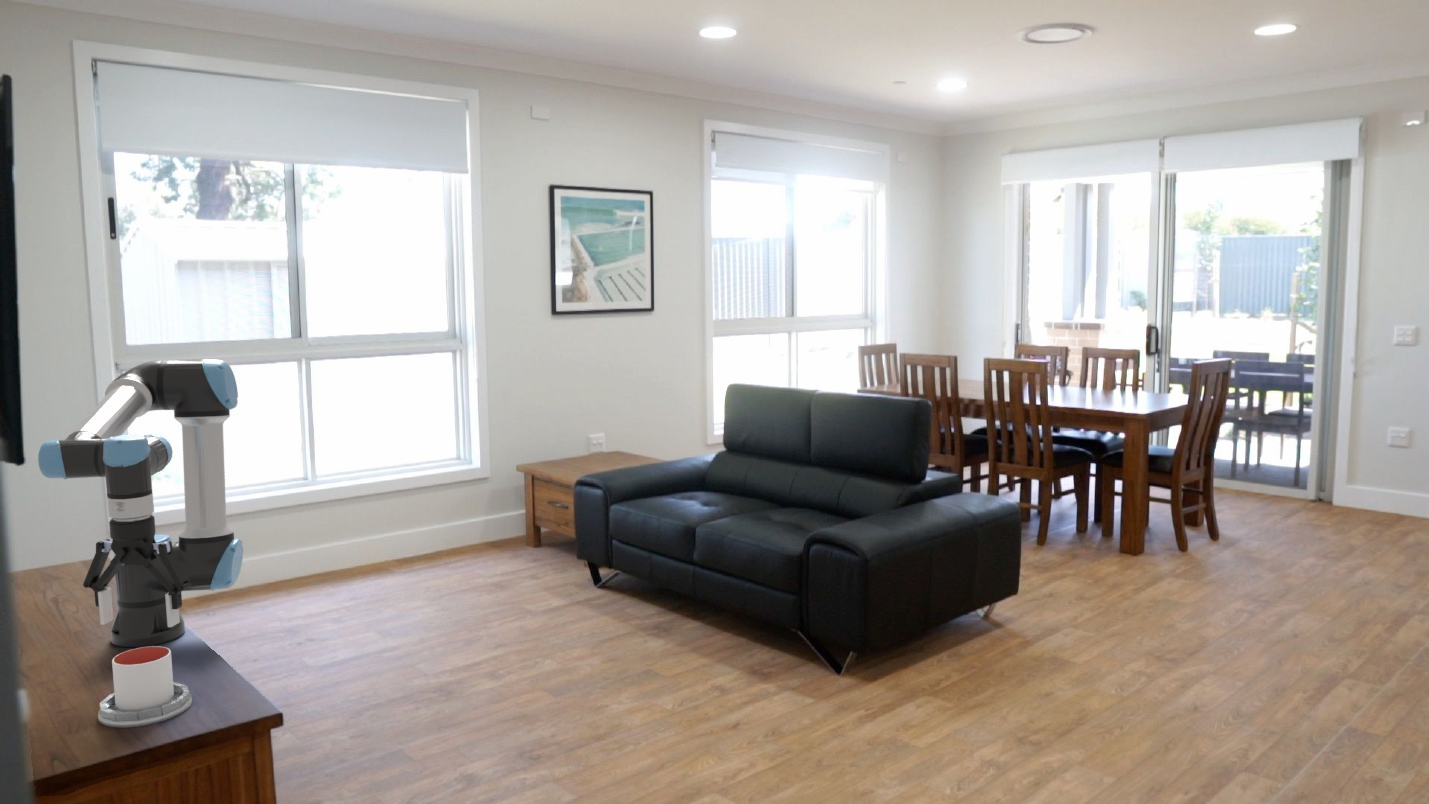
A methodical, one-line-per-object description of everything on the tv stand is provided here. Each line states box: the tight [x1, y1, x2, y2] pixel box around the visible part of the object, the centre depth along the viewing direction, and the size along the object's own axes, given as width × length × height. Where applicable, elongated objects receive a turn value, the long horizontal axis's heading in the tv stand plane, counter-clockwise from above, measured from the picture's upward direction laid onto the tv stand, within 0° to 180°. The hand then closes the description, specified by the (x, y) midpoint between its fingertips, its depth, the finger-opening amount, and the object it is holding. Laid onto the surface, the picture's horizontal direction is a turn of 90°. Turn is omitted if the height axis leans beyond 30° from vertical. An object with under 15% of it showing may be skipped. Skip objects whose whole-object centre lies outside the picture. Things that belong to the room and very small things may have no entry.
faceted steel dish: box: [97, 681, 193, 729], centre depth 198 cm, size 16×16×2 cm
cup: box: [111, 645, 174, 712], centre depth 198 cm, size 10×10×10 cm
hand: (140, 623), depth 197 cm, fingers open, 13 cm apart
